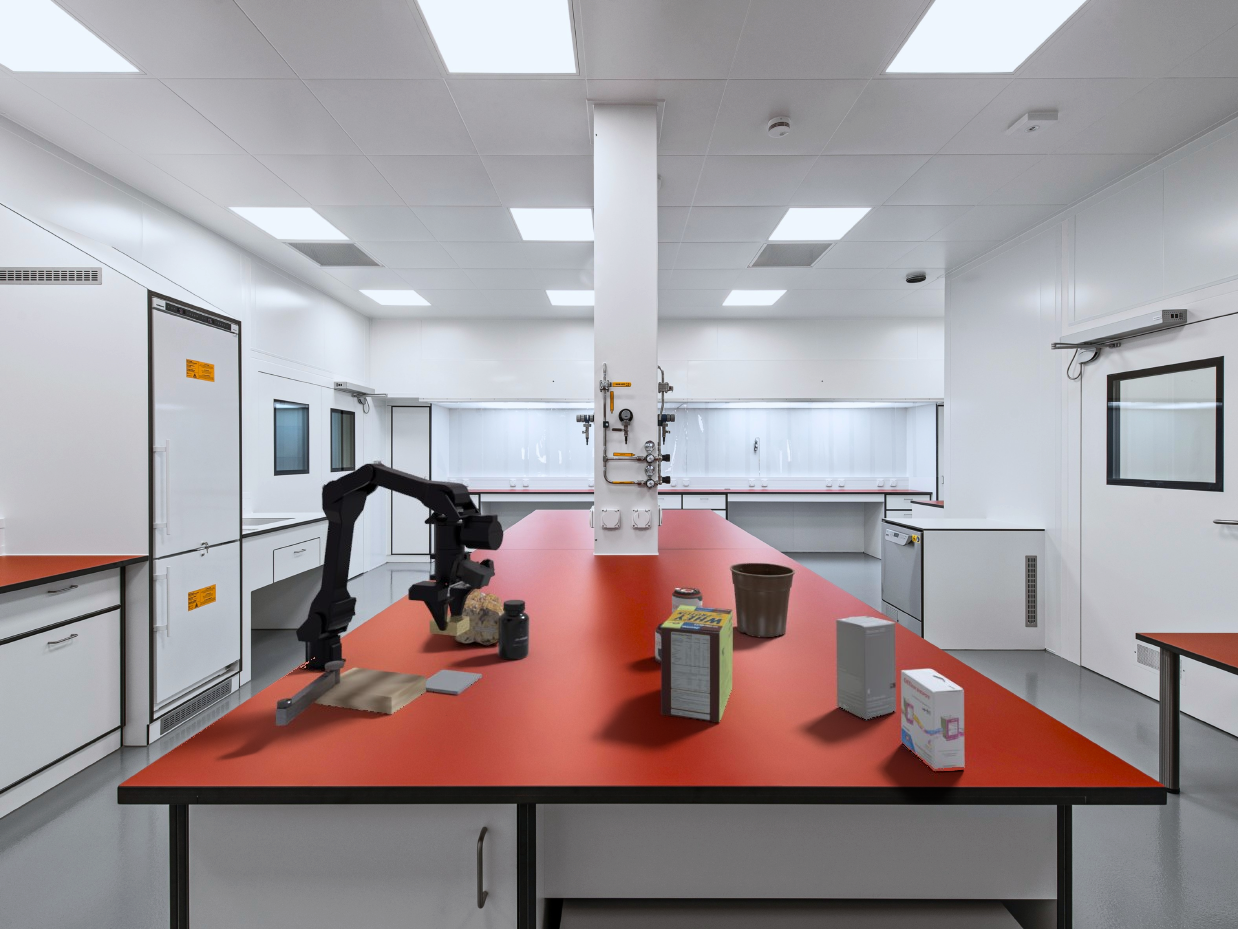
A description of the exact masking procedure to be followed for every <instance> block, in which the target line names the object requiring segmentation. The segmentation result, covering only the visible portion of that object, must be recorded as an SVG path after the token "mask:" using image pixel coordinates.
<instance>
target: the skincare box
mask: <svg viewBox="0 0 1238 929" xmlns="http://www.w3.org/2000/svg"><path fill="white" fill-rule="evenodd" d="M835 622H836V623H835V624H836V630H835V631H836V706H837V707H838V706H839V707H841V708H843V709H842V710H844V709H845V710H844V711H846V710H847V711H846V712H848V711H849V713H850V714H853V715H855V716H857V717H859V718H861V717H862V718H864V719H866V720H865V721H868V720H867V719H869V720H871V719H873V718H872V717H875V718H877V717H876V716H878V717H880V715H881V716H884V715H887V714H891V713H894V712H893V711H895V712H896V711H897V685H896V684H897V683H896V682H897V681H896V680H897V679H896V678H897V677H896V676H897V675H896V674H897V673H896V669H897V668H896V622H894V621H891V620H887V619H886V620H885V619H882V618H877V617H873V616H869V615H863V616H849V617H844V618H837V619H836V620H835ZM839 707H838V708H839ZM841 708H840V709H841ZM862 718H861V719H862ZM870 718H871V719H870ZM864 719H863V720H864Z"/></svg>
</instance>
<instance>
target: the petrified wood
mask: <svg viewBox="0 0 1238 929" xmlns="http://www.w3.org/2000/svg"><path fill="white" fill-rule="evenodd" d="M503 613H504V611H503V603H502V600H501V599H500V598H499V597H498V596H497V595H496V594H493V593H490V592H488V593H485V592H482V591H480V589H475V590H474V591H472V592H471V593H470V594H469V595H468V597H467V600H466V602H465V605H464V609H463V612H462V615H461V616H468V617H469V630H467V631H465V632H463V633H462V634H460V635H458V636H453V637H454V641H456V642H457V643H463V644H470V643H473V642H476V643H480V644H482V645H484V646H490V645H493V644H495V643H497V642H498V628H499V617H500V615H501V614H503ZM449 636H450V637H449V639H451V637H452V635H449Z"/></svg>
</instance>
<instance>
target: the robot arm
mask: <svg viewBox="0 0 1238 929" xmlns="http://www.w3.org/2000/svg"><path fill="white" fill-rule="evenodd" d="M379 487H380V488H384V489H387V490H388V491H389V490H390V491H392V492H396V493H398V494H401V495H404V496H408V497H410V498H414V499H416V500H417V501H420V503H421V504H422V505H423V506H424V507H426V508H427V509H429V510H431V511H432V513H431V515H430V516H428V517H427V518H426V519H425V520H424V524H425V525H434V552H432V553H429V559H430V560H434V567H433V568H434V572H433V573H432V574H430V575H429V580H422V581H420V582H419V581H418V582H416V583H413V584H412V585H410V587H409V588H408V591H407V592H408V595H407V596H408V601H416V602H423V603H424V604H425V606H426V608H427V609H428V611H429V612H430V615H431V616H432V619H433V618H434V620H435V622H436V624H437V626H438V628H439V630H440V631H445V630H446V624H447V615H449V614H450V615H457V616H461V615H462V612H463V609H464V605H465V602H466V600H467V597H468V595H469V594H471V593H472V592H473V591H474V590H481V589H483V588H484V587H488V586H489V584H490V582H491V580H492V577H495V576H496V572H495V570H496V569H495V563H494V560H492V559H490V558H484V559H483V560H482V561H479V560H478V561H474V560H472V558H471V553H470V551H466V549H468V550H469V549H470V550H479V551H480V550H483V551H498V550H499V549H500V547H501V546H502V544H503V540H504V530H503V527H502V523H501V522H500V521H499V520H498V519H499V516H498V514H496V513H494V514H493V513H491V514H482V513H481V512H480V510H479V509H478V507H477V505H476V504H475V502H474V500H473V499H472V497H471V494H470V492H469V489H468V487H467V485H465V484H463V483H460V482H455V481H454V482H452V481H442V480H440V481H439V480H430V479H427V478H424V477H421V476H417V475H414V474H411V473H408V472H405V471H402V470H399V469H395V468H392V467H389V466H387V465H385V464H384V463H380V462H378V463H365V464H364V465H361V466H360V467H358V468H357V469H356V470H354V471H351V472H348V473H347V474H345V475H343V476H340V477H338V478H337V479H336V480H333V479H332V480H330V481H328V482H326V484H324V485H323V488H322V490H321V508H322V512H323V513H324V515H325V517H326V519H327V521H328V523H327V532H326V533H327V534H326V541H325V542H326V543H325V549H324V558H323V564H322V565H323V567H322V575H321V584H320V589H319V590H318V592H317V594H316V595H315V597H314V598H313V600H312V601H311V603H310V607H309V611H308V614H307V618H306V619H305V620H304V622H303V623H302V624H300V626H299V627H298V628H297V629H296V631H295V634H296V637H297V640H298V642H302V643H303V642H304V643H305V647H304V648H305V651H304V652H305V654H304V656H305V659H304V660H305V663H306V662H308V661H309V663H308V664H306V665H305V666H306V668H304V667H305V666H303V667H302V668H304V669H302V668H299V669H300V670H301V669H302V670H309V671H315V670H316V671H317V672H326V671H327V670H325V664H326V663H329V662H332V661H343V662H344V663H345V662H346V661H347V659H346V658H344V657H343V646H342V645H343V643H342V641H341V640H342V638H341V637H342V636H341V633H346V632H347V631H348V628H349V624H350V623H351V622H352V620H353V617H354V616H356V604H357V602H358V601H357V597H355V596H351V595H350V592H349V590H348V582H349V572H350V564H351V555H352V550H353V549H352V548H353V541H354V540H353V539H354V532H355V524H356V521H357V520H358V518H359V517H360V516H361V514H362V513H363V511H364V508H365V507H366V506H365V505H366V501H367V498H368V496H370V495H372V494H373V493H375V492H376V490H378V488H379ZM448 612H449V614H448ZM314 657H315V659H313V658H314ZM311 659H312V660H311ZM305 663H304V664H305ZM302 665H303V664H301V665H299V666H298V667H300V666H302Z"/></svg>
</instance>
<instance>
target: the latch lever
mask: <svg viewBox="0 0 1238 929" xmlns="http://www.w3.org/2000/svg"><path fill="white" fill-rule="evenodd" d="M334 685H335V671H329V670H326V671H324V672H323V673H322V674H321V675H319V676H318V677H317V678H315V679H314V680H313V681H312V682H310V683H309V684H307V685H306V686H304V687H303V688H302V689H301V690H299V691H298V692H297V693H295V694H294V695H292V696H291V697H290V698H289V697H288V698H287V697H286V698H282V699H279V700H278V701H276V708H275V726H286V725H288V724H289V723H291V722H292V721H293V720H294V719H296V717H298V716H299V715H300V714H301V713H303V712H304V711H305V710H306V709H308V708H309V707H310V706H311V705H313V704H315V701H316V700H317V699H318V698H320V697H321V696H322V695H323V694H325V693H326V692H327V691H328V690H329V689H331V688H332V687H333V686H334Z"/></svg>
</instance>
